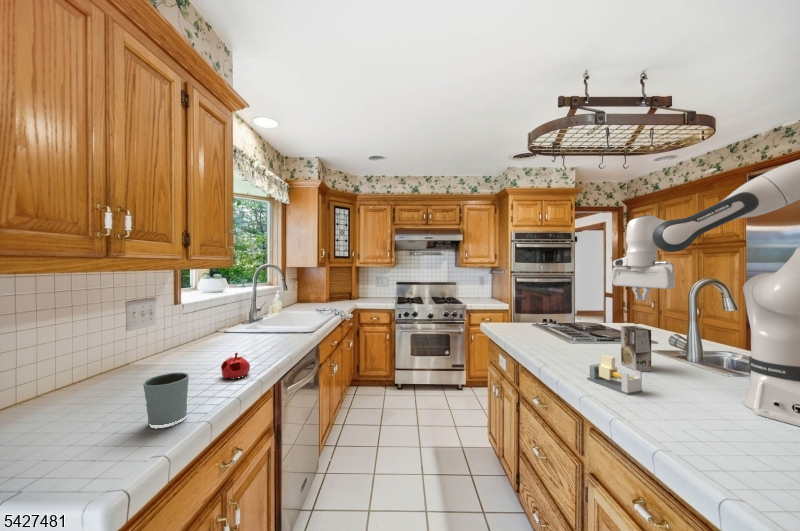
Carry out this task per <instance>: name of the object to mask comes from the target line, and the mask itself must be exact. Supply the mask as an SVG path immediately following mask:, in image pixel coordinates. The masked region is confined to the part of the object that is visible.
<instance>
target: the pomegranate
mask: <svg viewBox="0 0 800 531" xmlns="http://www.w3.org/2000/svg"><path fill="white" fill-rule="evenodd" d="M238 353H239V352H234V356H231V355H230V356H228V357H227V358H226V359H225V360H224V361H223V362H222V363H221V365H220V369H221V371H220V372H221V376H222V378H224V379H226V378H238V377H242V376H244V375H246V374H247V375H248V374H249V372H250V368H251V364H250V363H249V362H248V360H247V359H246V358H244V357H246V356H247V355H243V354H242V355H241V356H238ZM247 375H246V376H247ZM244 377H245V376H244ZM242 378H243V377H242ZM238 379H239V378H238Z"/></svg>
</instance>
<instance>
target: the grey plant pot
mask: <svg viewBox="0 0 800 531" xmlns="http://www.w3.org/2000/svg"><path fill="white" fill-rule="evenodd" d="M189 379H190V375H189V373H187V372H170V373H169V372H168V373H163V374H160V375H156V376H153V377H150V378H148V379H146V380H145V381H144V382H143V384H142V386H143V392H144V399H145V402H146V405H145V407H146V412H147V419H148V420H147V422H148V423H149V424H151V425H164V424H169V423H172V422H175V421H178V420H180V419H182V418H184V417H185V416H186V415H187V414H188V412H187V410H188V408H187V407H188V403H187V402H188V393H189V391H188V390H189ZM148 423H147V424H148ZM149 424H148V425H149Z"/></svg>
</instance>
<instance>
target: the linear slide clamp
mask: <svg viewBox="0 0 800 531" xmlns="http://www.w3.org/2000/svg"><path fill="white" fill-rule="evenodd" d="M600 365H601V363H600V364H599V363H597V364H589V377H586V380H587V379H588V380H587V381H590V382H592V381H593V382H592V383H596V384H598V385H601V386H603V387H605V386H606V387H605V388H608V389H611V390H614V391H616V392H619V393H621V394H624V395H626V396H628V395H634V394H639V393H643V388H642V385H643V383H642V382H643V381H642V380H643V379H642V378H643V376H642V374H643V371H637V370H633V372H634V374H633V376H630V374H629V373H627V372H623V371H622V372H621V373H620V372H618V371H617V372H615V371H611V376H613V377H616V378H618V379H619V380H621V382H620V381H618V380H616V379H613V380H608V379H605V378H602V377H600V376H599V366H600Z"/></svg>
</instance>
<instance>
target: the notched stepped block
mask: <svg viewBox="0 0 800 531" xmlns="http://www.w3.org/2000/svg"><path fill="white" fill-rule="evenodd" d="M611 371H615V372H618V367H616V357H613V356H610V355H607V354H602V355H601V356H600V366H599V376H600V377H602V378H605V379H608V380H618V379H619V378H616V377H613V376H611Z"/></svg>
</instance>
